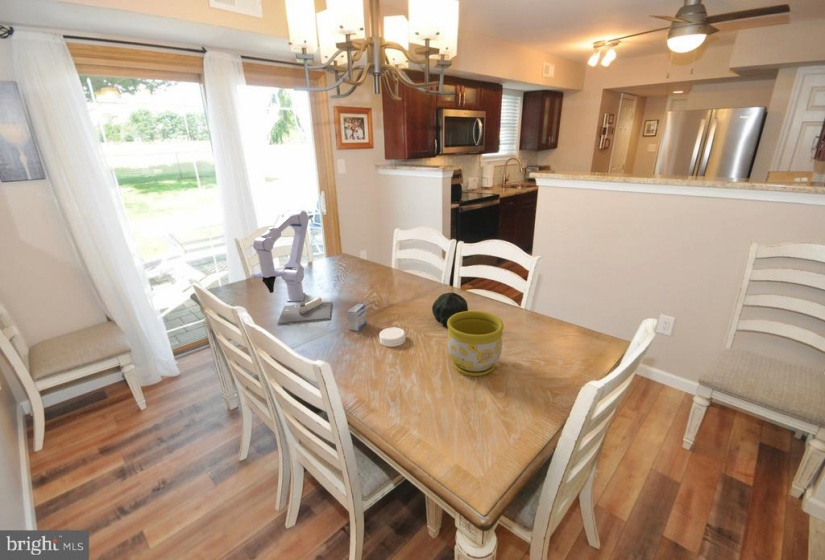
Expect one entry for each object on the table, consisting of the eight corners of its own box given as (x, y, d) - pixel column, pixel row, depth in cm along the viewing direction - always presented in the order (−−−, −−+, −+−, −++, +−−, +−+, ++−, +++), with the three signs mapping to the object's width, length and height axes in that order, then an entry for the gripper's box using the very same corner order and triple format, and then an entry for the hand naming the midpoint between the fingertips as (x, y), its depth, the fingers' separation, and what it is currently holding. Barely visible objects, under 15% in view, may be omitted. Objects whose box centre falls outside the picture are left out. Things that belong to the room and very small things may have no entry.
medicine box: (358, 331, 148) (356, 312, 145) (348, 330, 149) (346, 311, 146) (366, 322, 155) (365, 304, 152) (357, 321, 156) (355, 303, 153)
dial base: (284, 307, 172) (284, 305, 172) (331, 303, 175) (331, 301, 175) (277, 325, 155) (277, 322, 155) (329, 319, 159) (329, 317, 158)
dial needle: (303, 314, 161) (301, 307, 160) (296, 312, 163) (295, 305, 162) (324, 304, 171) (323, 296, 170) (318, 302, 173) (317, 295, 172)
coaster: (382, 349, 134) (381, 341, 133) (377, 336, 143) (377, 329, 142) (408, 345, 137) (408, 336, 136) (402, 333, 146) (401, 325, 145)
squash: (445, 298, 163) (435, 282, 151) (476, 306, 156) (468, 290, 144) (433, 327, 158) (422, 312, 146) (465, 336, 151) (456, 322, 139)
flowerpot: (464, 346, 134) (465, 306, 129) (510, 362, 123) (513, 319, 118) (436, 368, 121) (436, 325, 116) (484, 389, 110) (486, 342, 105)
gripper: (247, 267, 157) (253, 296, 162) (282, 265, 159) (286, 293, 164) (251, 263, 163) (256, 291, 168) (284, 260, 166) (289, 288, 170)
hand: (271, 292), depth 166 cm, fingers closed
